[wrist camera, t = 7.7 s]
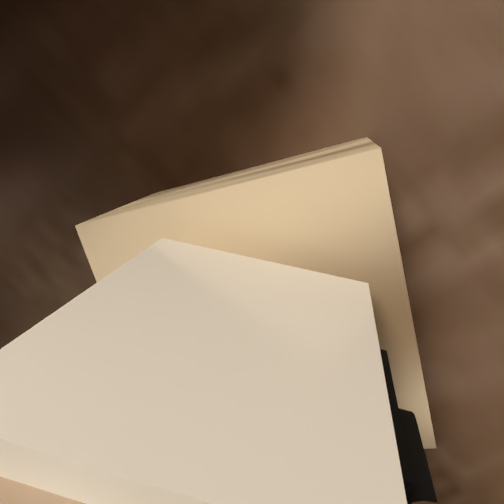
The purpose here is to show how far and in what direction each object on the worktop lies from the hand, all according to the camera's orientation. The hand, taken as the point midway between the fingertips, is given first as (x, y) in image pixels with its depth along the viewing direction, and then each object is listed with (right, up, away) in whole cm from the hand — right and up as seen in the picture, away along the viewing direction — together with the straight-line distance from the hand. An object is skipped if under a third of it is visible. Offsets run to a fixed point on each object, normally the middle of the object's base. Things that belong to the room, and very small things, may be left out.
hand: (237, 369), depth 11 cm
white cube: (0, 0, +1) cm, 1 cm away
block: (+2, +2, +7) cm, 8 cm away
